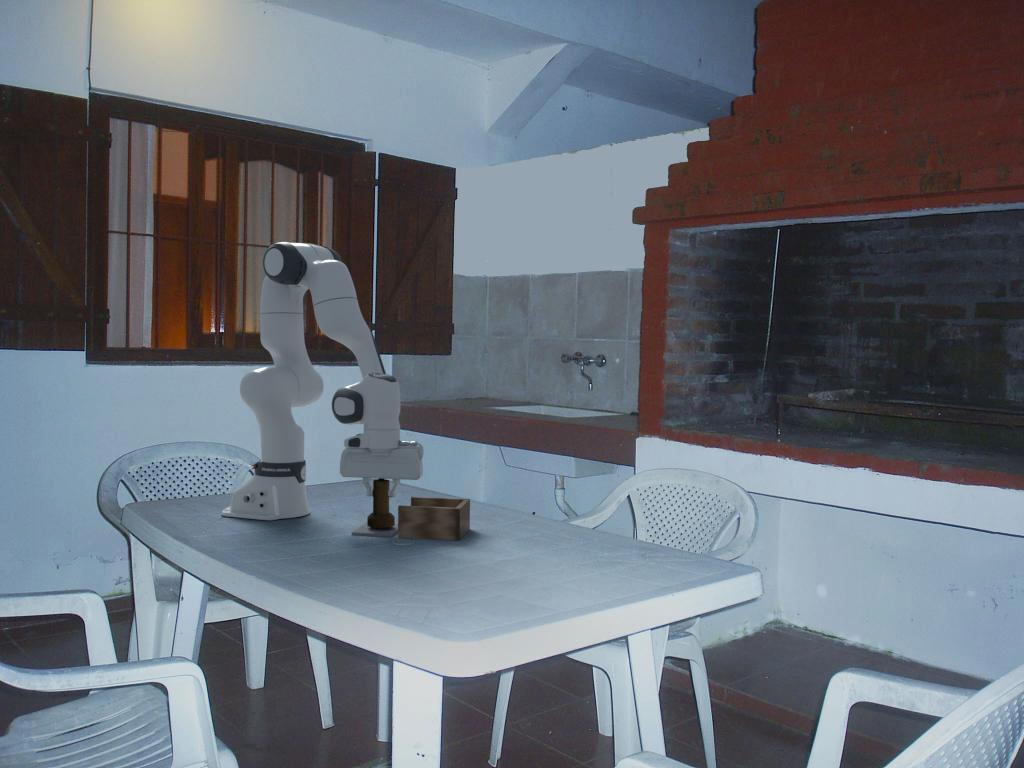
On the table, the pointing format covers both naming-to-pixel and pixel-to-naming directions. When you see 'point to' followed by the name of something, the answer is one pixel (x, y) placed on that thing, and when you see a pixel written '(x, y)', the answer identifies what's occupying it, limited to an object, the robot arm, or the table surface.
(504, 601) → the table surface
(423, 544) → the table surface
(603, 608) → the table surface
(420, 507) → the walnut bay
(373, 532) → the grey rubber mat
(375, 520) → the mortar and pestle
